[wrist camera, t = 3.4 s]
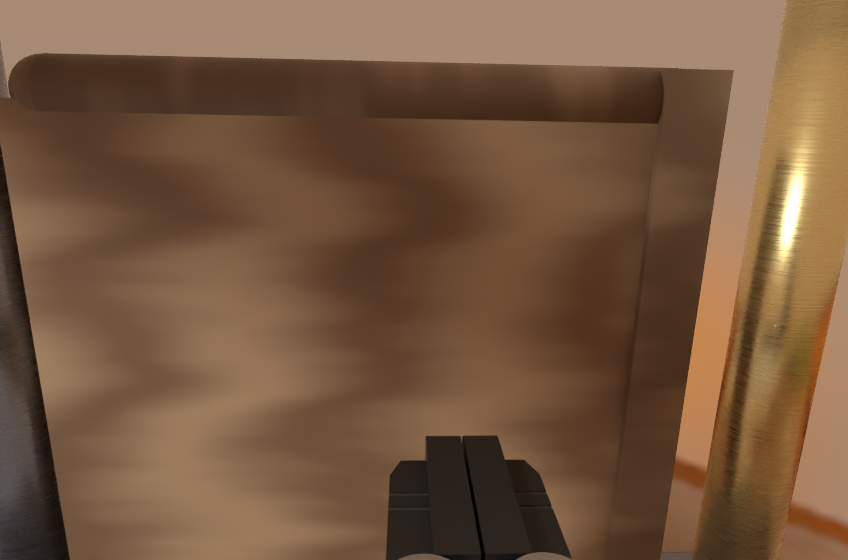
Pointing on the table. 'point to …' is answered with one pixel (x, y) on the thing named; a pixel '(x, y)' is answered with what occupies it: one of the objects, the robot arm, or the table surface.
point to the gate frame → (747, 347)
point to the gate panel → (355, 289)
